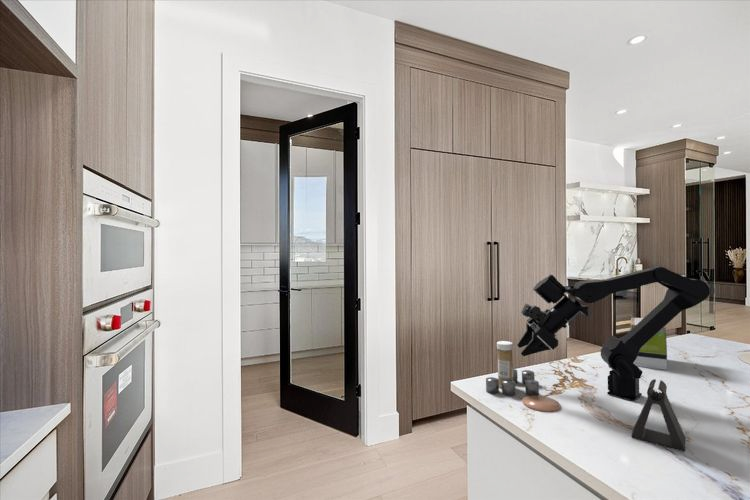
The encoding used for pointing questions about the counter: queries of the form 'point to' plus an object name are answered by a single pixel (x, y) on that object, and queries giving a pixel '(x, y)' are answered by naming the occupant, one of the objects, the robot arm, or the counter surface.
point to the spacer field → (509, 385)
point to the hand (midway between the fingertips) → (520, 350)
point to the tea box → (652, 350)
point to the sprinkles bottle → (505, 361)
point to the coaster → (541, 403)
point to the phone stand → (675, 432)
